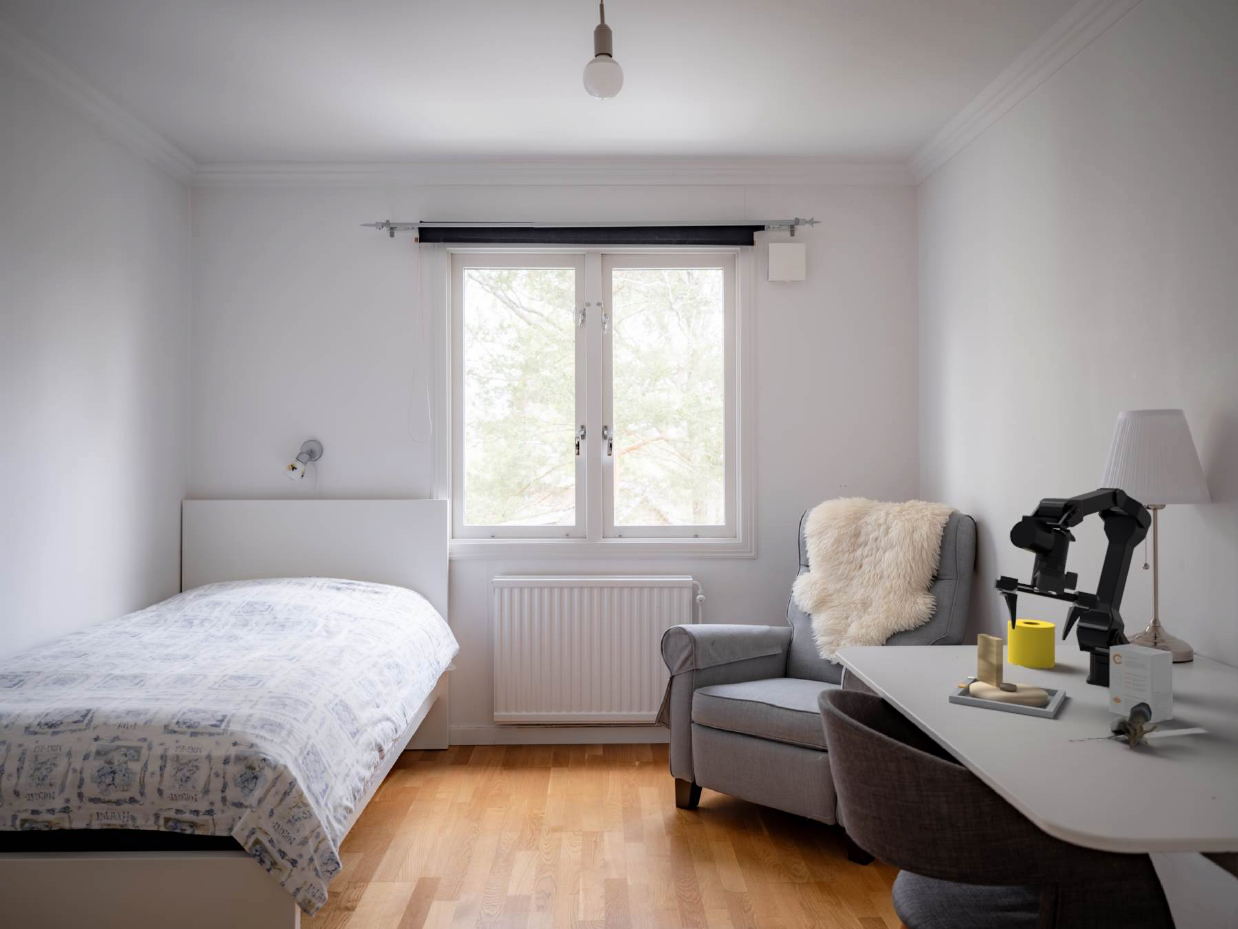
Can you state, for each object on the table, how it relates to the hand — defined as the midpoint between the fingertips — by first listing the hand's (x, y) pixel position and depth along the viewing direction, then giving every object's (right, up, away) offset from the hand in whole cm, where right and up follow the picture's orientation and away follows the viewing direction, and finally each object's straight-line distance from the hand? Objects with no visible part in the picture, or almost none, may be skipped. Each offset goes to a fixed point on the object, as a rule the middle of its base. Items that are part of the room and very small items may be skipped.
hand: (1038, 634), depth 170 cm
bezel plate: (-8, -13, -4) cm, 15 cm away
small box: (+12, -13, -14) cm, 23 cm away
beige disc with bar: (-8, -12, -4) cm, 15 cm away
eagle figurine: (+3, -13, -27) cm, 30 cm away
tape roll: (+13, -13, +29) cm, 34 cm away
